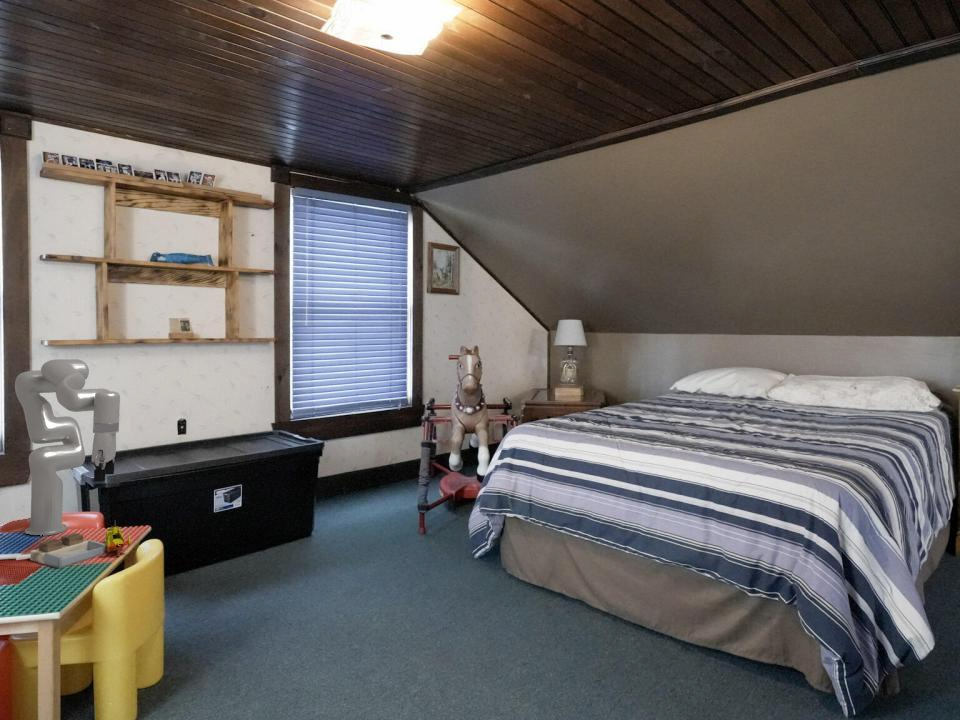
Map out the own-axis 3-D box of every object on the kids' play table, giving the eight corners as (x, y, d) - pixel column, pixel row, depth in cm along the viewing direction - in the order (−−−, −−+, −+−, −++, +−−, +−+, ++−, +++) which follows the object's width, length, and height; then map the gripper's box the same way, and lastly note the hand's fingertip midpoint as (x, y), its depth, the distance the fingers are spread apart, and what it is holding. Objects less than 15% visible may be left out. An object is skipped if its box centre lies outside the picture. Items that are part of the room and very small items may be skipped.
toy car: (108, 559, 201) (109, 529, 200) (100, 543, 215) (101, 515, 214) (130, 556, 205) (131, 526, 205) (120, 540, 219) (121, 513, 218)
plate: (30, 560, 197) (30, 550, 197) (76, 546, 211) (76, 537, 211) (44, 564, 194) (44, 554, 194) (90, 550, 208) (90, 541, 208)
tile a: (60, 543, 204) (61, 536, 204) (74, 540, 209) (74, 532, 208) (69, 546, 203) (69, 538, 203) (82, 542, 207) (83, 535, 207)
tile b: (38, 550, 198) (39, 542, 198) (53, 546, 202) (53, 538, 202) (47, 552, 196) (47, 544, 196) (61, 548, 200) (62, 540, 200)
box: (44, 564, 194) (44, 553, 194) (90, 550, 208) (90, 540, 208) (59, 568, 191) (59, 557, 191) (104, 554, 205) (105, 543, 205)
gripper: (101, 423, 213) (99, 471, 214) (84, 431, 197) (82, 484, 197) (125, 424, 215) (123, 471, 216) (110, 432, 199) (108, 483, 199)
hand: (104, 477), depth 207 cm, fingers open, 9 cm apart
